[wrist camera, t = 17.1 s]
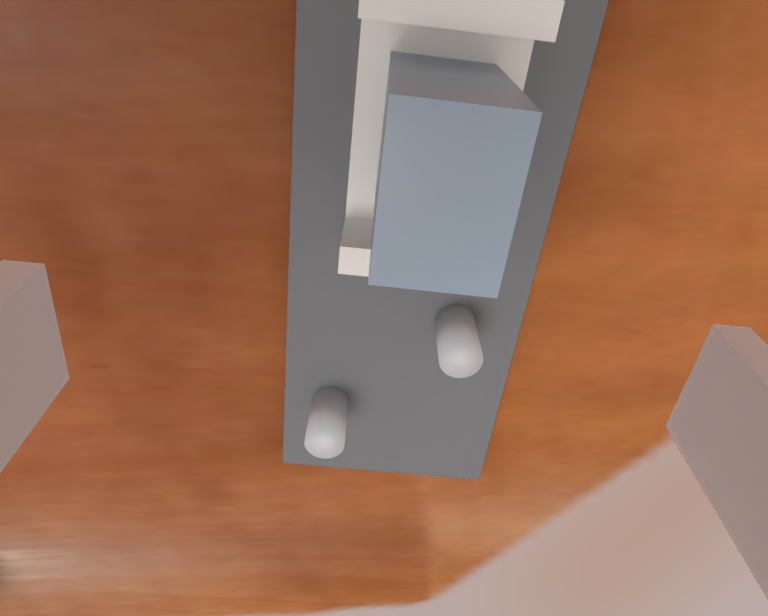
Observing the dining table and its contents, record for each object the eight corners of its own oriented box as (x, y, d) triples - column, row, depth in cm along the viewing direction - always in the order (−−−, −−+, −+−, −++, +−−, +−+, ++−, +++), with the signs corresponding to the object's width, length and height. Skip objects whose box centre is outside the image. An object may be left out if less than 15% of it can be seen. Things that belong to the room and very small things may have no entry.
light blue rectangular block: (375, 193, 31) (367, 284, 22) (390, 50, 28) (389, 93, 19) (468, 204, 31) (497, 298, 23) (496, 64, 28) (542, 112, 19)
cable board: (285, 450, 43) (272, 508, 38) (302, -75, 26) (283, -82, 22) (476, 467, 43) (486, 526, 39) (609, -36, 27) (652, -34, 22)
